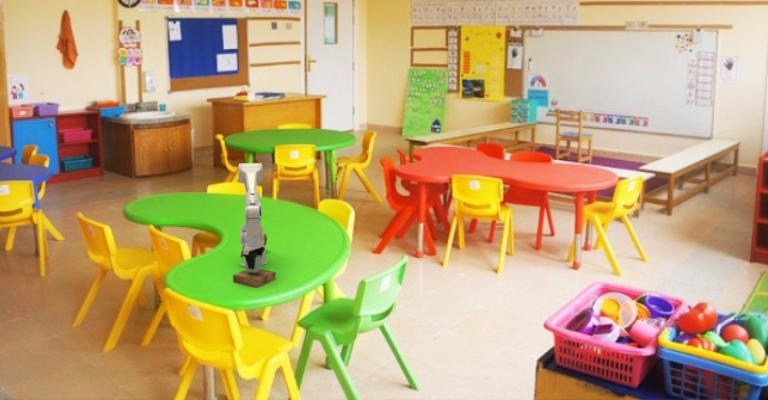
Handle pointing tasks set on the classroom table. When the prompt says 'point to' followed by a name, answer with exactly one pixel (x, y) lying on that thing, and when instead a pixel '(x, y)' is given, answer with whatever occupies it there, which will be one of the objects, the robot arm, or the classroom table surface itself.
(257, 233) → the robot arm
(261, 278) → the walnut base
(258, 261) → the teal block
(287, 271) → the classroom table surface
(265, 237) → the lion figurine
